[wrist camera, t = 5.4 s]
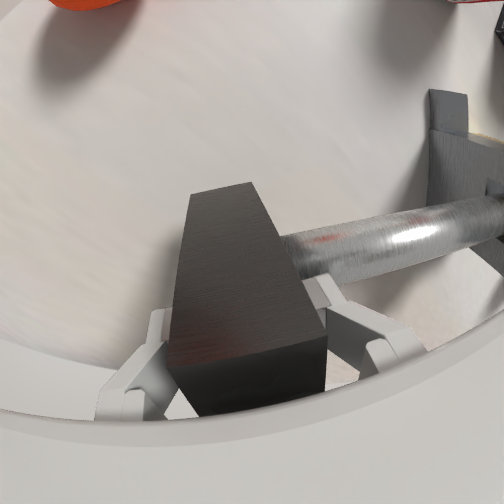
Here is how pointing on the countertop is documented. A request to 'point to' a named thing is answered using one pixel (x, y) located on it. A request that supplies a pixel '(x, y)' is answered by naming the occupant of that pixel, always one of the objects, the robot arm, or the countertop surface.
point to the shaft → (285, 290)
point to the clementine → (82, 4)
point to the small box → (501, 26)
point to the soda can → (471, 1)
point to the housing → (463, 164)
